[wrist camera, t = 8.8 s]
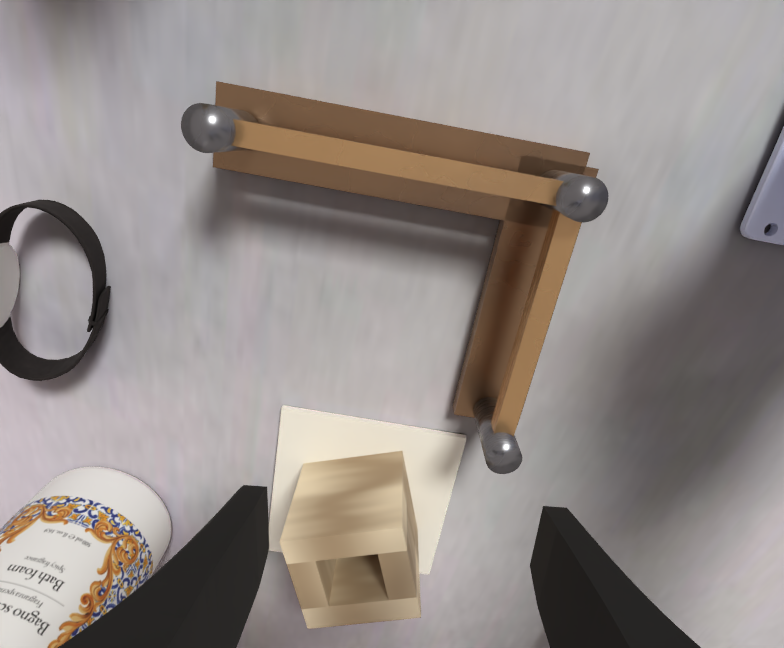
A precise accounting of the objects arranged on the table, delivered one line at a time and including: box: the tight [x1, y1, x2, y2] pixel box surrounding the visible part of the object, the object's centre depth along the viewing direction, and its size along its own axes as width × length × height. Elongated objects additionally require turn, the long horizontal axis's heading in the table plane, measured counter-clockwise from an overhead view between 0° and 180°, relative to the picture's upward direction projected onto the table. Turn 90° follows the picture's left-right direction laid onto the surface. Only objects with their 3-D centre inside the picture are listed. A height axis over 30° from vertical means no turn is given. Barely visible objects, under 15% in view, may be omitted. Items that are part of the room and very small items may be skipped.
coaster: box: [268, 405, 467, 575], centre depth 25 cm, size 9×9×1 cm
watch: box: [0, 200, 111, 381], centre depth 20 cm, size 8×5×4 cm, turn 164°
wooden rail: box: [181, 81, 608, 474], centre depth 19 cm, size 14×12×4 cm
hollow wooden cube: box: [280, 451, 421, 629], centre depth 22 cm, size 5×5×5 cm
